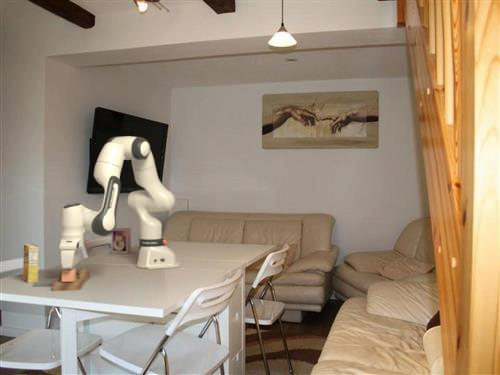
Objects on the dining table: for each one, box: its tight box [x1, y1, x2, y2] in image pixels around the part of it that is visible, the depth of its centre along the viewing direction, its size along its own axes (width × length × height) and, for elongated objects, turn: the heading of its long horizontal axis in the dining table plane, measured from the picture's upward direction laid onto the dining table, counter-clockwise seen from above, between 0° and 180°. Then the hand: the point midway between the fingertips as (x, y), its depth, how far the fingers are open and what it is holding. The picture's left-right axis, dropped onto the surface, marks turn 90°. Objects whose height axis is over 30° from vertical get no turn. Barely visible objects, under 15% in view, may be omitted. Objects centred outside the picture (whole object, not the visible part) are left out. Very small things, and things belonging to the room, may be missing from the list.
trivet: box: [32, 277, 59, 288], centre depth 179 cm, size 9×9×1 cm
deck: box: [52, 265, 91, 292], centre depth 180 cm, size 10×24×6 cm, turn 12°
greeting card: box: [111, 227, 132, 255], centre depth 264 cm, size 11×7×15 cm, turn 73°
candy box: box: [22, 243, 40, 284], centre depth 184 cm, size 9×4×15 cm, turn 41°
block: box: [61, 268, 77, 282], centre depth 173 cm, size 4×4×4 cm
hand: (71, 276), depth 178 cm, fingers closed
